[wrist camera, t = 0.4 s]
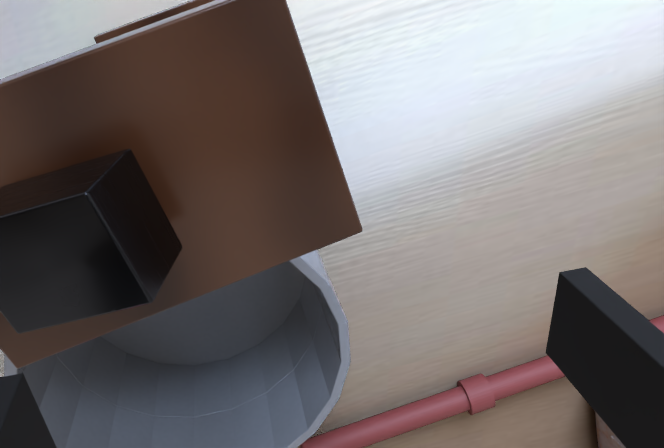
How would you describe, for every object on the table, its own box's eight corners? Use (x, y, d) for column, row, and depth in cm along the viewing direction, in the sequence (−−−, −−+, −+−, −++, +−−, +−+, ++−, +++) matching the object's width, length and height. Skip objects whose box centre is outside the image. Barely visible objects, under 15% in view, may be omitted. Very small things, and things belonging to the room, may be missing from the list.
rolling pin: (304, 452, 51) (310, 480, 48) (296, 429, 49) (301, 456, 47) (724, 305, 55) (752, 323, 52) (728, 280, 54) (757, 297, 51)
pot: (23, 170, 35) (-55, 258, 24) (300, 134, 38) (339, 198, 27) (97, 385, 43) (63, 522, 32) (320, 341, 46) (357, 453, 35)
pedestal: (234, -26, 33) (280, -20, 14) (280, 98, 36) (363, 232, 18) (45, 43, 32) (-169, 145, 13) (111, 162, 36) (16, 370, 17)
